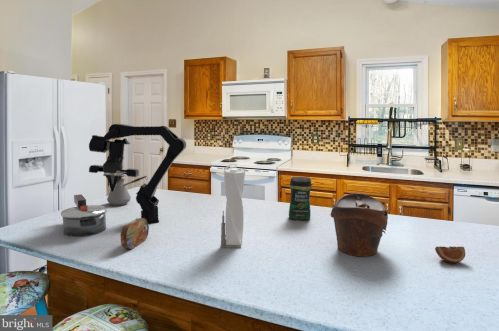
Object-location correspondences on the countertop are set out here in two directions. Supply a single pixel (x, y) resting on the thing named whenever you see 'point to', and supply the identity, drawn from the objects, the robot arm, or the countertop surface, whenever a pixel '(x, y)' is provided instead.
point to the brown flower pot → (359, 224)
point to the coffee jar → (300, 198)
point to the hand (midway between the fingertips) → (112, 191)
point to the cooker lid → (82, 209)
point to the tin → (134, 233)
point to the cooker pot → (84, 226)
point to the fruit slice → (451, 253)
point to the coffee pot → (121, 193)
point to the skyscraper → (233, 209)
